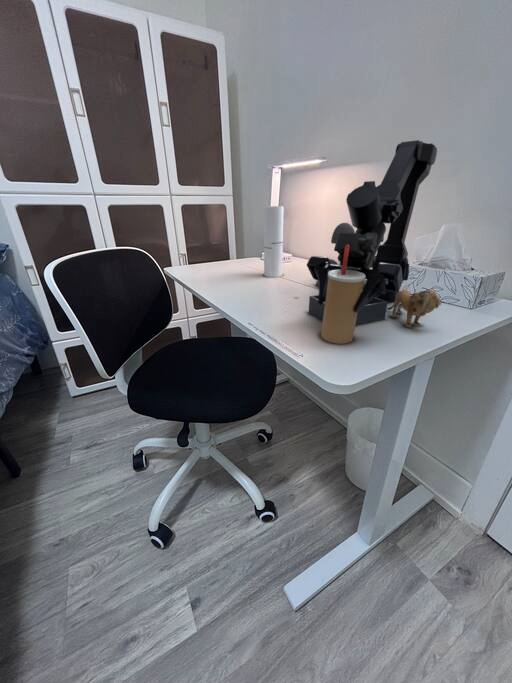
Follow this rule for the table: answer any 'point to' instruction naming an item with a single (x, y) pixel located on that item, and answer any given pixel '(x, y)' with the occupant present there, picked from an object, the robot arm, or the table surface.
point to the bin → (365, 315)
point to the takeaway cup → (341, 303)
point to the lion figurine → (415, 304)
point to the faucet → (339, 229)
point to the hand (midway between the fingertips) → (336, 307)
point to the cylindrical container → (273, 240)
